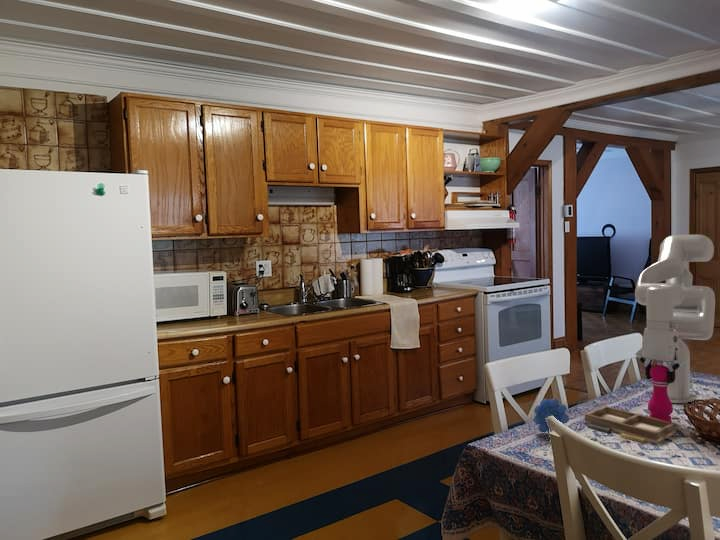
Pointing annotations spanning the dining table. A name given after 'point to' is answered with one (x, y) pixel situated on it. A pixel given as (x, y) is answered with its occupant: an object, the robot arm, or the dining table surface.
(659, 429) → the board
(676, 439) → the dining table surface
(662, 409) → the pepper mill
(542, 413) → the grapes
